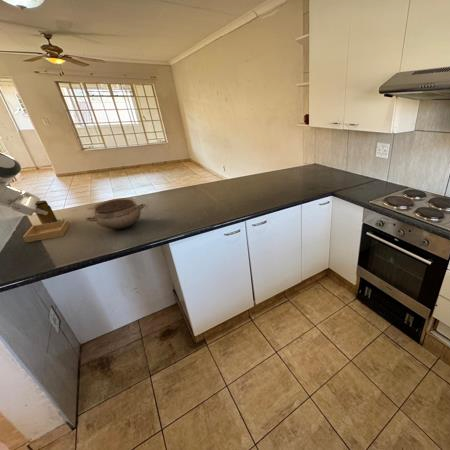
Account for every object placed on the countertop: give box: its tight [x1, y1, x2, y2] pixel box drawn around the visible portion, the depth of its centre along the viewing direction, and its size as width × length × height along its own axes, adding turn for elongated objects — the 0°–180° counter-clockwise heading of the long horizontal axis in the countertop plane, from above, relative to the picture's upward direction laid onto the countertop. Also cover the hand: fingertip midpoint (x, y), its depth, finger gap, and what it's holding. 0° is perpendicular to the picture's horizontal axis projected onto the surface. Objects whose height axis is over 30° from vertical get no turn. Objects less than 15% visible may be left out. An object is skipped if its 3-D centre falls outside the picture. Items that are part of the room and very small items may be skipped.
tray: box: [22, 219, 70, 243], centre depth 119 cm, size 13×12×3 cm
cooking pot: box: [85, 197, 146, 230], centre depth 123 cm, size 25×19×12 cm
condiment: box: [35, 200, 64, 224], centre depth 127 cm, size 7×8×12 cm
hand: (48, 211), depth 127 cm, fingers closed on condiment, 6 cm apart
